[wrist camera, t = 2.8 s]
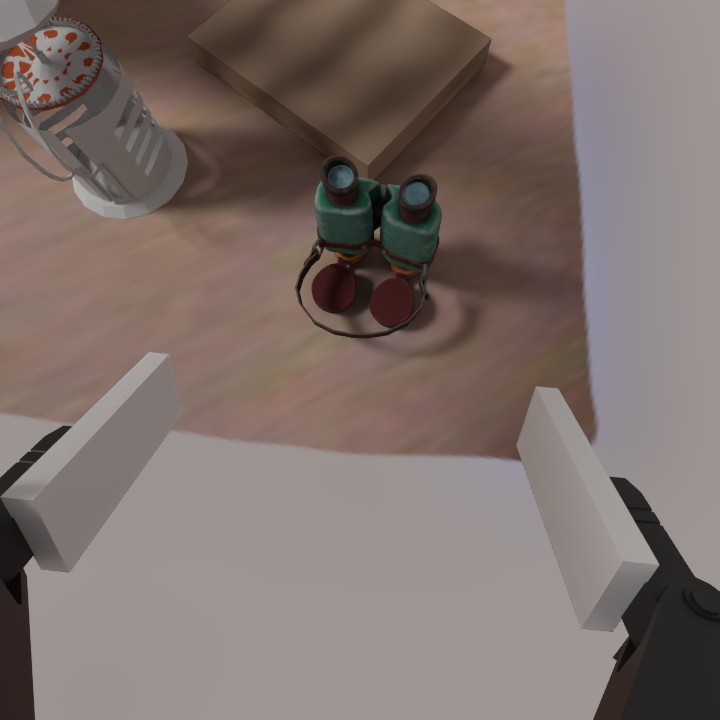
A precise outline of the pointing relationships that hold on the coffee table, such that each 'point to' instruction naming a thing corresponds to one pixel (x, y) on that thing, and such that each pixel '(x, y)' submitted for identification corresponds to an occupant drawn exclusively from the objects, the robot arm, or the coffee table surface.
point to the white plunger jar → (104, 101)
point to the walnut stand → (343, 68)
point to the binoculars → (372, 241)
